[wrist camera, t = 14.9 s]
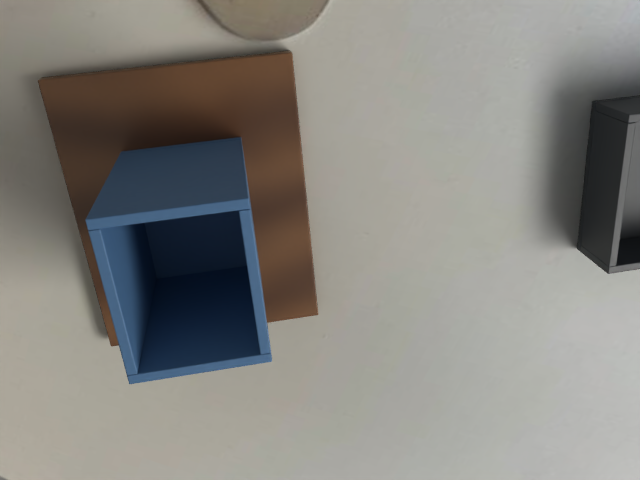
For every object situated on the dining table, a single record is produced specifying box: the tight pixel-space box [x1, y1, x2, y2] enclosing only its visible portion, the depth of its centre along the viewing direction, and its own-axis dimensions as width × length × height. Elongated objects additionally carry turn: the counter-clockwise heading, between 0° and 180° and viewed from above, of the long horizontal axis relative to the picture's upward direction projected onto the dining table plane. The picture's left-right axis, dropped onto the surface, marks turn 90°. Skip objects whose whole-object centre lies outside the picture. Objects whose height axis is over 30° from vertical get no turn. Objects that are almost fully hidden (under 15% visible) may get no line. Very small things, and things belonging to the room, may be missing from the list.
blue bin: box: [85, 137, 272, 384], centre depth 38 cm, size 10×8×12 cm
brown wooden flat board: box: [38, 51, 318, 346], centre depth 43 cm, size 20×16×1 cm
